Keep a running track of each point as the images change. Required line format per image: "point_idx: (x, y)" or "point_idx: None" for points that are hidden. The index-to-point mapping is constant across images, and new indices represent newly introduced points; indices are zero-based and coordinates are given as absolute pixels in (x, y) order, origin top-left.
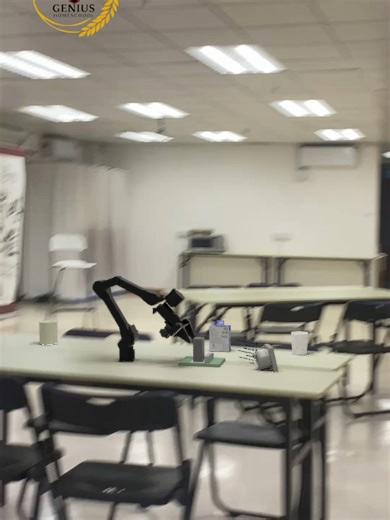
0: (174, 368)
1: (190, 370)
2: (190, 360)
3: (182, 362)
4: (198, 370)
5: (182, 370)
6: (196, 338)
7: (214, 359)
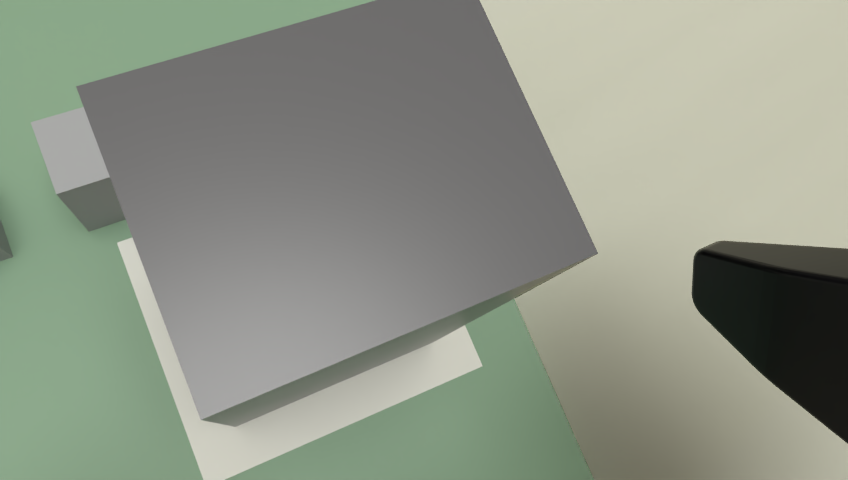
0: (781, 432)
1: (724, 169)
2: (355, 461)
3: (571, 472)
4: (658, 81)
5: None
6: (465, 197)
7: (32, 140)
